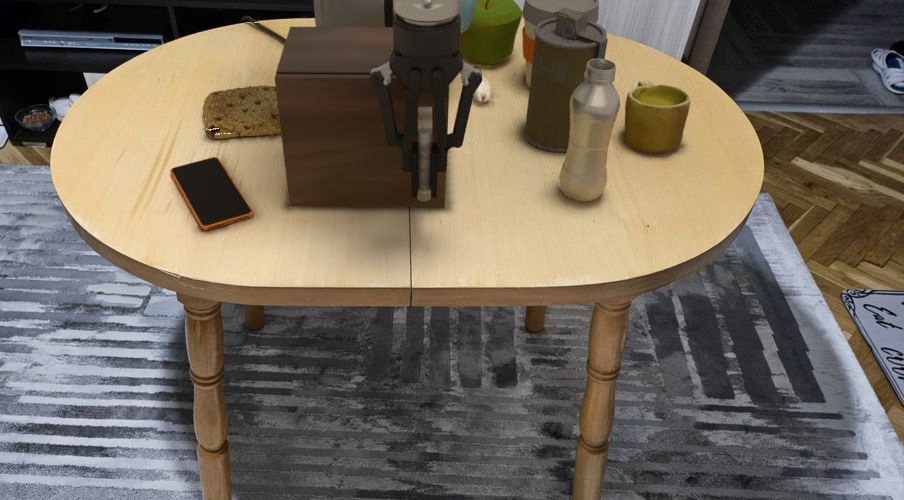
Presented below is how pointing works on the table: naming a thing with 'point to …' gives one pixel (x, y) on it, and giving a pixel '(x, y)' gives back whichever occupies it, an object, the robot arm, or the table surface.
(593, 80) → the plastic bottle
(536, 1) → the reusable coffee cup
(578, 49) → the canister
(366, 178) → the cupboard door
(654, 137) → the mug
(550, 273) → the table surface
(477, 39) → the apple
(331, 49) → the cupboard
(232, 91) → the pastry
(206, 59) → the table surface
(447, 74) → the robot arm
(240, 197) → the smartphone
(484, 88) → the white ridged oblong
